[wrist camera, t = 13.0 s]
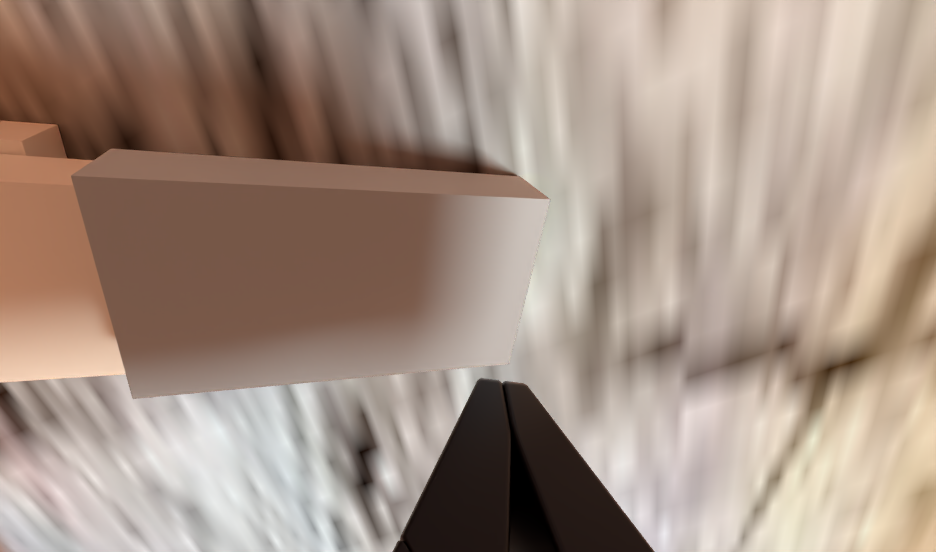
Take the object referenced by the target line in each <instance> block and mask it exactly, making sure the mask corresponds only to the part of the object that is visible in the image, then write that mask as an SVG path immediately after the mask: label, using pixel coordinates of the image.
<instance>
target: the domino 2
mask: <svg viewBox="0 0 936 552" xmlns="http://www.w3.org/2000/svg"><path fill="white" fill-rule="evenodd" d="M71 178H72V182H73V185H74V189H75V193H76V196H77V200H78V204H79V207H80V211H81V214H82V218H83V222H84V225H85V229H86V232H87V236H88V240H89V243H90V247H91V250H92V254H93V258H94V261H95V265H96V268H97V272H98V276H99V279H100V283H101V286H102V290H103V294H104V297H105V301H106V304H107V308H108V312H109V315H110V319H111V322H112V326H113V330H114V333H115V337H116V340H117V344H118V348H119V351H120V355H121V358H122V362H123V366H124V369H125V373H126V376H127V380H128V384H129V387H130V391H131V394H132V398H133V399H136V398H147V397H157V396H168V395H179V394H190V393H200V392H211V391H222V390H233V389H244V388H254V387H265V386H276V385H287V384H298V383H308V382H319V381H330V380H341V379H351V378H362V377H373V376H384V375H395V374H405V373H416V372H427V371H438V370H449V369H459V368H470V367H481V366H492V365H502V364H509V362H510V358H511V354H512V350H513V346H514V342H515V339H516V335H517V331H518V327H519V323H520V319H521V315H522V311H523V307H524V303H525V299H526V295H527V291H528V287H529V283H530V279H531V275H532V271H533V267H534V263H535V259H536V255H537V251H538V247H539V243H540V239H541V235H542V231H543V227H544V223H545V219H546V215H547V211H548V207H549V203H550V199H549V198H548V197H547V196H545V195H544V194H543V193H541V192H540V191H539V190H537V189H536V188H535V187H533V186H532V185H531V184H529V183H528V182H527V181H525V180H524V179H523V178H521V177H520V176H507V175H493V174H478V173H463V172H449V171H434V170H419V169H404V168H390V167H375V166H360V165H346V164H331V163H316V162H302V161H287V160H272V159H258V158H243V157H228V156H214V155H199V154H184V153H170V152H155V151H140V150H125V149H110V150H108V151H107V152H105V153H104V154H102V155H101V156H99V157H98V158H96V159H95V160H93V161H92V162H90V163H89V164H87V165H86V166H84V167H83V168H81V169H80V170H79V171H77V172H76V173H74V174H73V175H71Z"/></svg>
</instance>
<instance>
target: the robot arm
mask: <svg viewBox="0 0 936 552" xmlns="http://www.w3.org/2000/svg"><path fill="white" fill-rule="evenodd" d="M393 552H654V551H653V549H652V548H651V547H650V545H649V544H648V543H647V541H646V540H645V539H644V537H643V536H642V535H641V534H640V532H639V531H638V530H637V528H636V527H635V526H634V524H633V523H632V522H631V521H630V519H629V518H628V517H627V515H626V514H625V513H624V511H623V510H622V509H621V507H620V506H619V505H618V504H617V502H616V501H615V500H614V498H613V497H612V496H611V494H610V493H609V492H608V490H607V489H606V488H605V487H604V485H603V484H602V483H601V481H600V480H599V479H598V477H597V476H596V475H595V473H594V472H593V471H592V470H591V468H590V467H589V466H588V464H587V463H586V462H585V460H584V459H583V458H582V457H581V455H580V454H579V453H578V451H577V450H576V449H575V447H574V446H573V445H572V443H571V442H570V441H569V440H568V438H567V437H566V436H565V434H564V433H563V432H562V430H561V429H560V428H559V426H558V425H557V424H556V423H555V421H554V420H553V419H552V417H551V416H550V415H549V413H548V412H547V411H546V409H545V408H544V407H543V406H542V404H541V403H540V402H539V400H538V399H537V398H536V396H535V395H534V394H533V393H532V391H531V390H530V389H529V387H528V386H527V385H525V384H523V383H517V382H509V381H505V382H503V383H501V382H500V381H499V380H492V379H484V378H480V379H479V380H478V381H477V383H476V385H475V387H474V389H473V391H472V393H471V395H470V397H469V399H468V401H467V403H466V405H465V407H464V409H463V411H462V413H461V415H460V417H459V419H458V421H457V423H456V425H455V427H454V429H453V431H452V433H451V435H450V437H449V439H448V441H447V443H446V445H445V448H444V450H443V452H442V454H441V456H440V458H439V460H438V462H437V464H436V466H435V468H434V470H433V472H432V474H431V476H430V478H429V480H428V482H427V484H426V486H425V488H424V490H423V492H422V494H421V496H420V498H419V500H418V502H417V504H416V506H415V508H414V510H413V512H412V514H411V516H410V518H409V520H408V522H407V524H406V527H405V529H404V531H403V533H402V535H401V537H400V541H398V542H397V544H396V546H395V548H394V550H393Z"/></svg>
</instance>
